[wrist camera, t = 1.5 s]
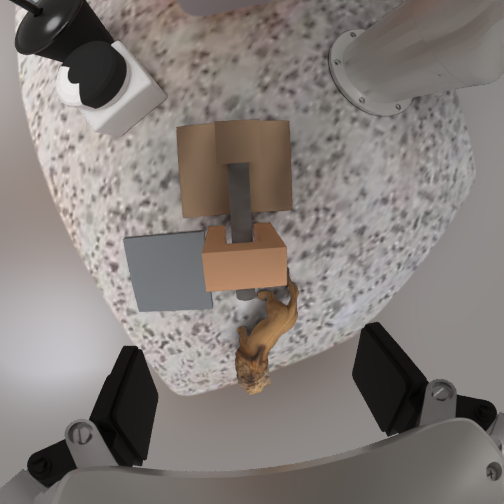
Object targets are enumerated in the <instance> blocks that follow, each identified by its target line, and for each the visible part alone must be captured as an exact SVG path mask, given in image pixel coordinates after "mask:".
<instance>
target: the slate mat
mask: <svg viewBox="0 0 504 504" xmlns="http://www.w3.org/2000/svg"><path fill="white" fill-rule="evenodd" d="M123 241H124V247H125V252H126V257H127V262H128V267H129V272H130V276H131V281H132V285H133V289H134V293H135V297H136V301H137V305H138V309H139V312H147V311H176V310H196V309H213V303H212V296H211V291H210V292H206V285H205V278H204V270H203V261H202V250H203V246H204V243H205V234H204V231H194V232H182V233H170V234H159V235H149V236H138V237H128V238H124V239H123Z"/></svg>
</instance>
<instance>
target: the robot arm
mask: <svg viewBox="0 0 504 504" xmlns="http://www.w3.org/2000/svg"><path fill="white" fill-rule="evenodd" d="M335 63H336V64H337V65H336V64H335ZM329 67H330V71H331V75H332V77H333V79H334V81H335V83H336V85H337V86H338V88H339V89H340V91H341V92H342V93H343V95H344V96H345V97H346V98H347V99H348V100H349V101H350V102H351V103H353V104H354V105H355V106H356V107H358V108H360V109H361V110H363V111H365V112H367V113H369V114H373V115H377V116H391V115H395V114H399V113H401V112H402V111H404V110H405V109H406V108H407V107H408V106H409V105H410V103H411V101H412V99H413V98H414V97H419V96H423V95H428V94H430V95H433V96H436V97H440V96H441V95H442V93H443V91H448V90H453V89H459V88H465V87H472V86H478V85H485V84H489V83H492V82H494V81H496V80H497V79H499V78H500V77H501V76H502V74H503V73H504V0H406V1H405V2H404V3H402V4H401V5H399V6H398V7H396V8H395V9H394V10H392V11H391V12H389V13H388V14H387V15H385V16H384V17H383V18H381V19H380V20H379V21H377V22H376V23H375V24H373V25H372V26H371V27H370V28H368V29H367V30H364V29H354V30H349V31H347V32H345V33H343V34H341V35H340V36H339V37H338V38H337V39H336V40H335V41H334V42H333V44H332V46H331V48H330V52H329ZM359 101H360V102H359ZM352 376H353V379H354V381H355V383H356V385H357V387H358V389H359V390H360V392H361V394H362V396H363V397H364V400H365V401H366V403H367V405H368V407H369V409H370V411H371V412H372V414H373V416H374V418H375V420H376V422H377V423H378V425H379V427H380V429H381V431H382V432H386V434H387V436H388V437H389V436H391V435H394V434H396V433H399V434H398V435H395V436H393V437H390V438H387V439H384V440H381V441H379V442H376V443H373V444H370V445H367V446H364V447H361V448H357V449H354V450H351V451H347V452H344V453H340V454H336V455H332V456H328V457H324V458H320V459H315V460H310V461H305V462H301V463H295V464H289V465H283V466H276V467H268V468H260V469H249V470H235V471H208V472H207V471H200V472H199V471H172V470H156V469H145V468H136V467H132V466H133V465H137V466H142V463H143V460H146V459H147V455H148V449H149V444H150V438H151V433H152V428H153V422H154V417H155V412H156V407H157V403H158V392H157V390H156V387H155V384H154V382H153V379H152V377H151V374H150V371H149V368H148V366H147V363H146V360H145V357H144V354H143V351H142V350H141V349H138V347H137V346H123V348H122V350H121V352H120V354H119V356H118V358H117V360H116V363H115V365H114V367H113V369H112V372H111V374H110V375H108V376H107V378H106V380H105V382H104V385H103V387H102V389H101V392H100V394H99V396H98V399H97V401H96V403H95V406H94V408H93V411H92V413H91V416H90V418H89V420H86V419H78V420H75V421H73V422H71V423H70V424H69V425H68V426H67V428H66V430H65V439H64V440H62V441H60V442H58V443H56V444H53V445H51V446H49V447H47V448H45V449H42V450H40V451H38V452H36V453H34V454H32V455H31V457H30V458H29V460H28V463H27V467H28V469H27V470H26V471H25V470H24V469H22V470H21V471H20V472H19V473H18V474H17V475H15V476H14V477H13V478H12V479H11V480H10V481H9V482H7V483H6V484H5V485H4V486H3V487H1V489H0V504H504V413H501V412H500V413H499V414H497V410H496V408H495V406H494V405H493V404H492V403H491V402H489V401H486V400H482V399H476V398H471V397H466V396H460V395H457V392H456V388H455V387H454V385H453V384H452V383H451V382H449V381H447V380H444V379H436V380H433V381H431V382H430V383H429V382H428V381H427V380H426V377H425V376H424V375H423V373H422V372H421V371H420V370H419V369H418V367H417V366H416V365H415V364H414V363H413V361H412V360H411V359H410V358H409V357H408V355H407V354H406V353H405V352H404V351H403V349H402V348H401V347H400V346H399V345H398V344H397V342H396V341H395V340H394V339H393V338H392V337H391V336H390V334H389V333H388V332H387V331H386V330H385V329H384V328H383V326H382V325H381V324H380V323H379V322H374V323H369V324H366V325H365V327H364V328H362V330H361V334H360V339H359V345H358V349H357V354H356V358H355V363H354V367H353V371H352Z"/></svg>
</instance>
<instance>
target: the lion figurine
mask: <svg viewBox="0 0 504 504" xmlns="http://www.w3.org/2000/svg"><path fill="white" fill-rule="evenodd" d="M287 284H288V288H287V290H288V292H289V293H290V297H291V299H290V301H289V303H288V305H287V306H286V305H285V304H284V303H282V302H280V301H279V300H277V299H275V297H274V293H273V292H268V291H260V292H259V293H258V298H259V299H261V300H264V299H266V298H267V303H266V310H267V315H268V317H267V318H265V319H264V320H262V321H260V322H259V323H258V324H257V325H256V326H255V328H254V329H253V331H252V332H251V334H250V336H247V329H246V328H245V327H239V328H238V329H237V331H238V333H239V334H240V338H239V342H240V347H239V348H238V350H237V352H236V353H235V355H236V358H235V366H236V367H235V368H236V371H237V379H238V384H239V385H241V387H242V388H243V389H244V390H245V391H247V392H248V393H249V394H250V395H251V394H255V393H258V392H261V391H262V389H263V386H267V385H270V383H271V381H270V377H269V376H268V372H269V369H268V367H267V365H268V358H267V357H268V353H269V351H270V350H271V349H272V347H273V346H274V345H275V343H276V342H277V340H278V339H279V337H280V336H281V335H282V334H284V333H285V332H287V331H288V330H290V329H291V328H292V327H293V326H294V324H295V322H296V320H297V317H298V312H297V297H298V295H299V291H298V288H297V285H296V284H293V283H291V280H290V277H289V268H288V267H287Z"/></svg>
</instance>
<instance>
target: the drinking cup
mask: <svg viewBox="0 0 504 504" xmlns="http://www.w3.org/2000/svg"><path fill="white" fill-rule="evenodd" d="M10 1H12V2H14V3H15V4H17V5H19V6H20V7H22V8H24V9H26V10H27V11H28V13H27V14H26V15H25V17H24V18H23V20H22V22H21V23H20V25H19V28H18V30H17V33H16V37H15V47H16V50H17V51H18V52H19V53H21V54H23V55H31V54H35V55H39V56H42V57H46V58H49V59H53V60H56V61H60V62H64V61H65V59H66V58H67V57H68V56H69V55H70V54H71V53H72V52H73V51H74V50H75V49H77V48H78V47H80V46H82V45H84V44H86V43H88V42H92V41H104V42H107V43H109V44H110V45H111V44H113V43H114V42H115V41H114V40H113V38H112V37H111V35H110V34H109V33H108V31H107V30H106V28H105V27H104V25H103V24H102V23H101V21H100V20H99V18H98V17H97V16H96V14H95V13H94V11H93V10H92V9H91V7H90V6H89V4H88V3H87V1H86V0H39V1H37V2H36V3H35V4H32V3H31V2H29V1H27V0H10Z"/></svg>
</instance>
